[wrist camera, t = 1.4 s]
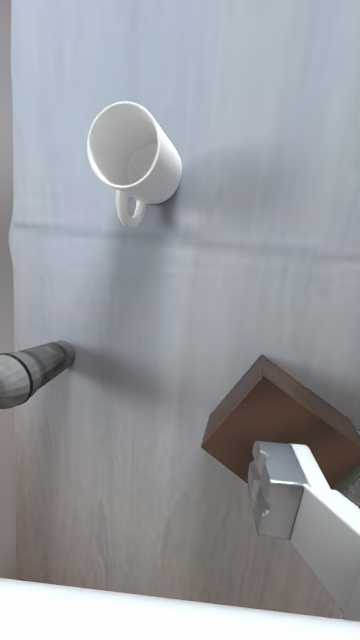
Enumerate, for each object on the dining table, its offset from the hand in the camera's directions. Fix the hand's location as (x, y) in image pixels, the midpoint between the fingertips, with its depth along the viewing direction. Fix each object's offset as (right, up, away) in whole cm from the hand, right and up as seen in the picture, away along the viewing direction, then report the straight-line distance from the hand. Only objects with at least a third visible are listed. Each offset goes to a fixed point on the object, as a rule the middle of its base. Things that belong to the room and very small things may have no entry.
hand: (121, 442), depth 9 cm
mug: (-2, +22, +32) cm, 39 cm away
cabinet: (+16, -10, +34) cm, 39 cm away
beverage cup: (-18, -2, +41) cm, 45 cm away
